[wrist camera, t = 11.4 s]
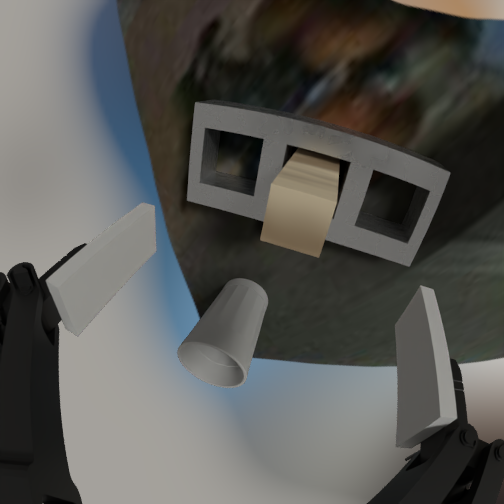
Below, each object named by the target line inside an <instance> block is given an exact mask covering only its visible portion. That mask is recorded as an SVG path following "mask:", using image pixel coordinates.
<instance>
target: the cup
mask: <svg viewBox="0 0 504 504" xmlns="http://www.w3.org/2000/svg"><path fill="white" fill-rule="evenodd" d="M267 305H268V297H267V294H266V293H265V291H264V290H263V289H262V287H260V286H259V285H258V284H257V283H255V282H253V281H251V280H248V279H243V278H236V279H232V280H230V281H228V282H227V283H226V284H225V286H224V288H223V289H222V291H221V292H220V294H219V295H218V296H217V298H216V299H215V300H214V302H213V303H212V304H211V306H210V307H209V308H208V310H207V311H206V312H205V314H204V315H203V316H202V318H201V319H200V320H199V322H198V323H197V324H196V326H195V327H194V328H193V330H192V331H191V332H190V334H189V335H188V336H187V337H186V339H185V340H184V341H183V342H182V344H181V345H180V347H179V348H178V358H179V360H180V362H181V363H182V365H183V366H184V367H185V368H186V369H187V370H188V371H189V372H190V373H191V374H192V375H194V376H195V377H197V378H198V379H200V380H202V381H204V382H206V383H209V384H211V385H214V386H218V387H225V388H234V387H238V386H241V385H242V384H244V383H245V381H246V379H247V375H248V371H249V367H250V363H251V360H252V356H253V353H254V349H255V346H256V342H257V339H258V335H259V331H260V328H261V324H262V321H263V317H264V313H265V310H266V308H267Z"/></svg>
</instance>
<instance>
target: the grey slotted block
mask: <svg viewBox="0 0 504 504" xmlns="http://www.w3.org/2000/svg"><path fill="white" fill-rule="evenodd" d="M221 130H222V131H227V132H233V133H238V134H243V135H248V136H253V137H258V138H262V139H264V141H263V147H262V153H261V158H260V164H259V170H258V175H257V181H255V180H251V179H247V178H243V177H239V176H235V175H231V174H227V173H222V172H218V171H216V166H217V158H218V150H219V141H220V134H221ZM292 146H296V147H300V148H304V149H307V150H311V151H315V152H318V153H322V154H326V155H329V156H332V157H336V158H339V159H342V160H346V161H347V164H346V168H345V171H344V175H343V178H342V182H341V185H340V189H339V192H338V196H337V204H336V207H335V210H334V214H333V217H332V220H331V223H330V226H329V229H328V232H327V235H326V238H325V240H328V241H331V242H334V243H337V244H341V245H344V246H347V247H350V248H353V249H356V250H360V251H363V252H366V253H369V254H372V255H375V256H378V257H381V258H384V259H387V260H391V261H394V262H397V263H400V264H403V265H406V266H410V264H411V262H412V261H413V259H414V257H415V255H416V253H417V251H418V249H419V246H420V244H421V242H422V240H423V238H424V236H425V234H426V232H427V230H428V227H429V225H430V223H431V221H432V218H433V216H434V214H435V211H436V209H437V207H438V204H439V202H440V199H441V197H442V194H443V192H444V189H445V187H446V184H447V181H448V179H449V176H450V172H449V171H448V170H447V169H446V168H445V167H444V166H442V165H441V164H440V163H439V162H438V161H436V160H433V159H431V158H429V157H426V156H424V155H422V154H419V153H417V152H414V151H412V150H409V149H407V148H404V147H401V146H399V145H396V144H393V143H391V142H388V141H385V140H382V139H379V138H377V137H374V136H371V135H368V134H365V133H362V132H358V131H355V130H352V129H349V128H345V127H342V126H339V125H335V124H331V123H328V122H324V121H320V120H317V119H313V118H309V117H305V116H300V115H296V114H292V113H287V112H283V111H278V110H273V109H268V108H263V107H258V106H252V105H246V104H240V103H234V102H227V101H220V100H208V101H201V102H195V109H194V119H193V128H192V139H191V150H190V163H189V177H188V192H187V201H191V202H194V203H198V204H202V205H206V206H209V207H213V208H217V209H221V210H224V211H228V212H231V213H235V214H239V215H242V216H246V217H249V218H253V219H256V220H260V221H263V222H264V218H265V213H266V208H267V203H268V198H269V193H270V188H271V183H272V182H273V181H274V179H275V178H276V177H277V175H278V174H279V173H280V171H281V170H282V169H283V167H284V166H285V165H286V164H287V162H288V161H289V160H290V155H291V151H292ZM373 170H376V171H379V172H382V173H385V174H388V175H391V176H393V177H396V178H399V179H401V180H404V181H407V182H409V183H412V184H414V185H417V187H416V190H415V192H414V195H413V198H412V200H411V203H410V205H409V208H408V210H407V213H406V215H405V218H404V220H403V222H402V225H400V224H398V223H395V222H392V221H389V220H386V219H383V218H380V217H377V216H374V215H371V214H368V213H365V212H362V211H360V209H361V206H362V203H363V200H364V197H365V194H366V191H367V188H368V185H369V182H370V179H371V176H372V173H373Z"/></svg>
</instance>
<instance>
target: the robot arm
mask: <svg viewBox="0 0 504 504" xmlns="http://www.w3.org/2000/svg"><path fill="white" fill-rule="evenodd" d="M155 252H156V232H155V206H153V205H150V204H146V203H141V204H140V205H138V206H137V207H135V208H134V209H133V210H131V211H130V212H129V213H127V214H126V215H125V216H123V217H122V218H121V219H119V220H118V221H117V222H115V223H114V224H113V225H111V226H110V227H109V228H108V229H106V230H105V231H104V232H102V233H101V234H100V235H98V236H97V237H96V238H95V239H93V240H92V241H91V242H90V243H89V244H85V243H84V244H82V245H80V246H78V247H76V248H74V249H73V250H72V251H70V252H69V253H68V254H67V256H65V257H63V258H62V259H61V261H58V262H57V263H56V264H55V265H54V266H53V267H51V268H50V269H49V270H48V271H47V272H46V273H45V274H44V275H42V276H41V277H40V278H39V279H38V277H37V274H36V271H35V269H34V266H33V265H32V264H31V263H28V262H23V263H19V264H17V265H15V266H14V267H12V268H11V269H10V270H9V272H8V274H7V276H8V279H9V281H10V283H9V282H8V280H7V278H6V276H5V274H4V273H1V272H0V504H82V501H81V497H80V494H79V491H78V489H77V487H76V486H75V484H74V483H73V481H72V479H71V476H70V473H69V468H68V462H67V457H66V451H65V445H64V437H63V429H62V420H61V409H60V395H59V370H58V369H59V365H58V364H59V363H58V361H59V359H58V358H59V355H58V354H59V352H58V351H59V327H58V323H59V322H60V321H61V320H62V322H63V324H64V326H65V328H66V329H67V330H68V331H70V332H71V333H73V334H74V335H76V336H79V335H80V334H81V332H82V331H83V330H84V329H85V328H86V327H87V326H88V324H89V323H90V322H91V321H92V320H93V319H94V317H95V316H96V315H97V314H98V313H99V312H100V311H101V310H102V308H103V307H104V306H105V305H106V304H107V303H108V302H109V301H110V300H111V298H112V297H113V296H114V295H115V294H116V293H117V292H118V291H119V290H120V289H121V288H122V287H123V285H124V284H125V283H126V282H127V281H128V280H129V279H130V278H131V277H132V276H133V275H134V274H135V273H136V272H137V271H138V270H139V269H140V267H141V266H142V265H143V264H144V263H145V262H146V261H147V260H148V259H149V258H150V257H151V256H152V255H153V254H154V253H155ZM395 333H396V349H397V374H398V375H397V376H398V409H397V410H398V411H397V435H396V447H401V448H413V447H414V446H416V445H418V444H420V443H421V449H420V450H419V451H418V452H416V453H414V454H412V455H410V456H409V457H407V458H406V459H405V460H406V461H407V460H409V459H411V460H410V461H409V462H408V463H407V464H406V465H405V466H404V467H403V468H402V470H401V471H400V472H399V473H398V474H397V475H396V476H395V477H394V478H393V479H392V480H391V481H390V482H389V483H388V484H387V485H386V486H385V487H384V488H383V489H382V490H381V491H380V492H379V493H378V494H377V495H376V496H375V497H374V498H373V499H372V500H371V501H369V502H368V503H367V504H495V503H496V500H497V497H498V494H499V491H500V488H501V485H502V482H503V478H504V441H503V440H501V439H498V440H495V441H494V442H492V443H490V444H488V443H486V442H484V441H482V440H480V439H478V435H477V431H476V430H475V429H474V427H473V426H471V425H470V424H468V421H467V411H466V403H465V395H464V392H463V390H464V388H463V383H462V375H461V370H460V368H459V366H458V364H457V362H456V360H454V359H450V358H449V353H448V348H447V343H446V338H445V334H444V329H443V325H442V320H441V316H440V312H439V308H438V305H437V301H436V297H435V293H434V290H433V289H430V288H427V287H424V286H421V285H420V287H419V289H418V290H417V292H416V294H415V295H414V297H413V298H412V300H411V302H410V303H409V305H408V306H407V308H406V309H405V311H404V312H403V314H402V316H401V317H400V319H399V320H398V322H397V323H396V324H395ZM470 483H472V484H471V487H470V489H469V486H470ZM42 502H43V503H42Z"/></svg>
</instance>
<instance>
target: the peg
mask: <svg viewBox="0 0 504 504" xmlns="http://www.w3.org/2000/svg"><path fill="white" fill-rule="evenodd" d="M339 165H340V159H339V158H336V157H332V156H329V155H326V154H322V153H318V152H315V151H311V150H307V149H304V148H300V147H299V148H298V149H297V150H296V152H295V153H294V154H293V156H292V157H291V158H290V160H289V161H288V162H287V164H286V165H285V166H284V167H283V169H282V170H281V171H280V173H279V174H278V175H277V177H276V178H275V179H274V181H273V182H272V183H271V188H270V193H269V198H268V203H267V208H266V213H265V218H264V223H263V228H262V233H261V238H260V240H262V241H265V242H268V243H272V244H275V245H279V246H282V247H285V248H289V249H292V250H295V251H298V252H302V253H305V254H308V255H312V256H315V257H318V258H319V256H320V253H321V250H322V247H323V244H324V241H325V238H326V235H327V232H328V229H329V226H330V223H331V220H332V217H333V214H334V210H335V207H336V204H337V196H338V182H339Z"/></svg>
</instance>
